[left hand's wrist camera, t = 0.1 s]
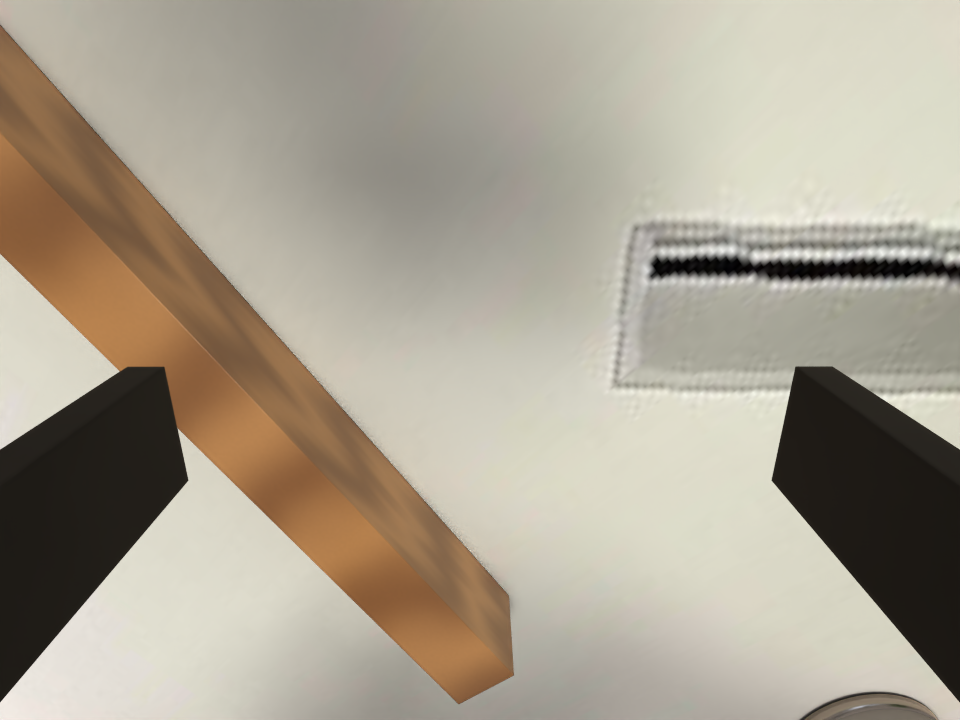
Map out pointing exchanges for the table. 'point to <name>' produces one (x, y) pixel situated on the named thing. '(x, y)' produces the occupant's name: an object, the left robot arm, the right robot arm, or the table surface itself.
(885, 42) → the table surface
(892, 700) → the right robot arm
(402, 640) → the beam
